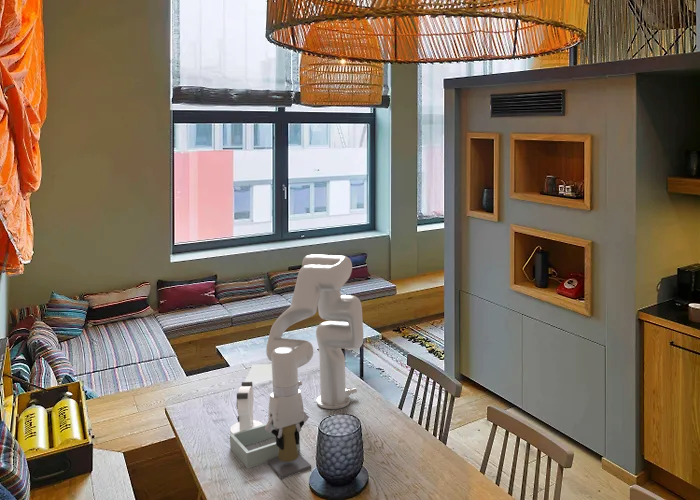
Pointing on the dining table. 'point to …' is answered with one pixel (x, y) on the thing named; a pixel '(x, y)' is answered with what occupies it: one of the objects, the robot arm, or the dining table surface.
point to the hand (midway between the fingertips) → (288, 444)
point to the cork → (288, 444)
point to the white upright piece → (245, 409)
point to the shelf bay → (257, 454)
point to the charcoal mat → (288, 466)
